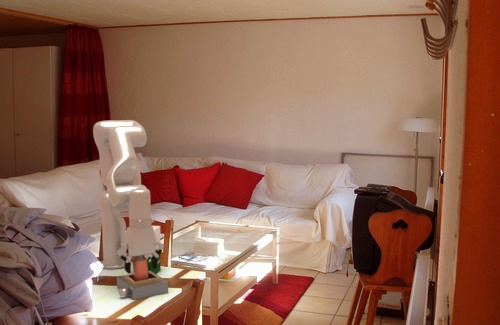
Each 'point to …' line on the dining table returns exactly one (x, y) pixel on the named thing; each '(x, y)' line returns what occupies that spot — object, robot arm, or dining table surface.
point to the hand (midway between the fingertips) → (141, 270)
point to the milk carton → (148, 256)
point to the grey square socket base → (141, 286)
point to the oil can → (140, 268)
